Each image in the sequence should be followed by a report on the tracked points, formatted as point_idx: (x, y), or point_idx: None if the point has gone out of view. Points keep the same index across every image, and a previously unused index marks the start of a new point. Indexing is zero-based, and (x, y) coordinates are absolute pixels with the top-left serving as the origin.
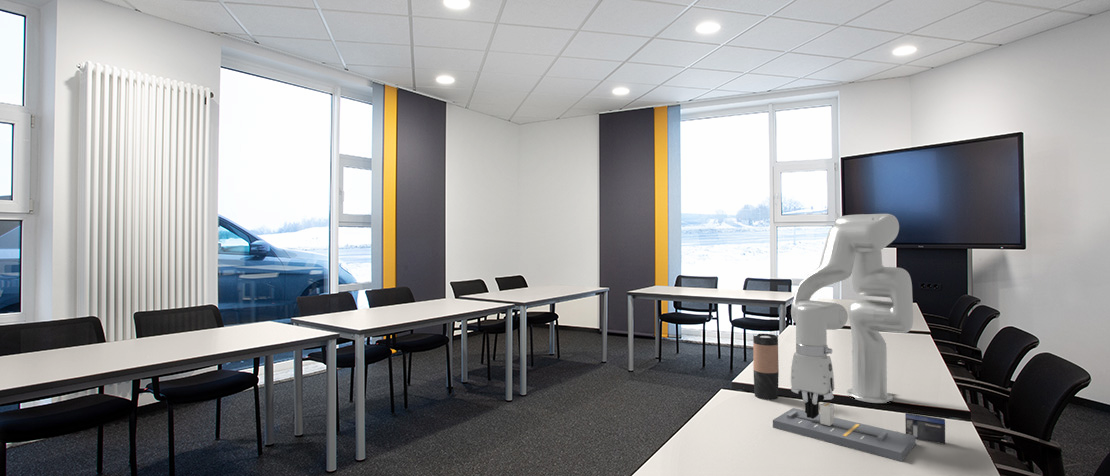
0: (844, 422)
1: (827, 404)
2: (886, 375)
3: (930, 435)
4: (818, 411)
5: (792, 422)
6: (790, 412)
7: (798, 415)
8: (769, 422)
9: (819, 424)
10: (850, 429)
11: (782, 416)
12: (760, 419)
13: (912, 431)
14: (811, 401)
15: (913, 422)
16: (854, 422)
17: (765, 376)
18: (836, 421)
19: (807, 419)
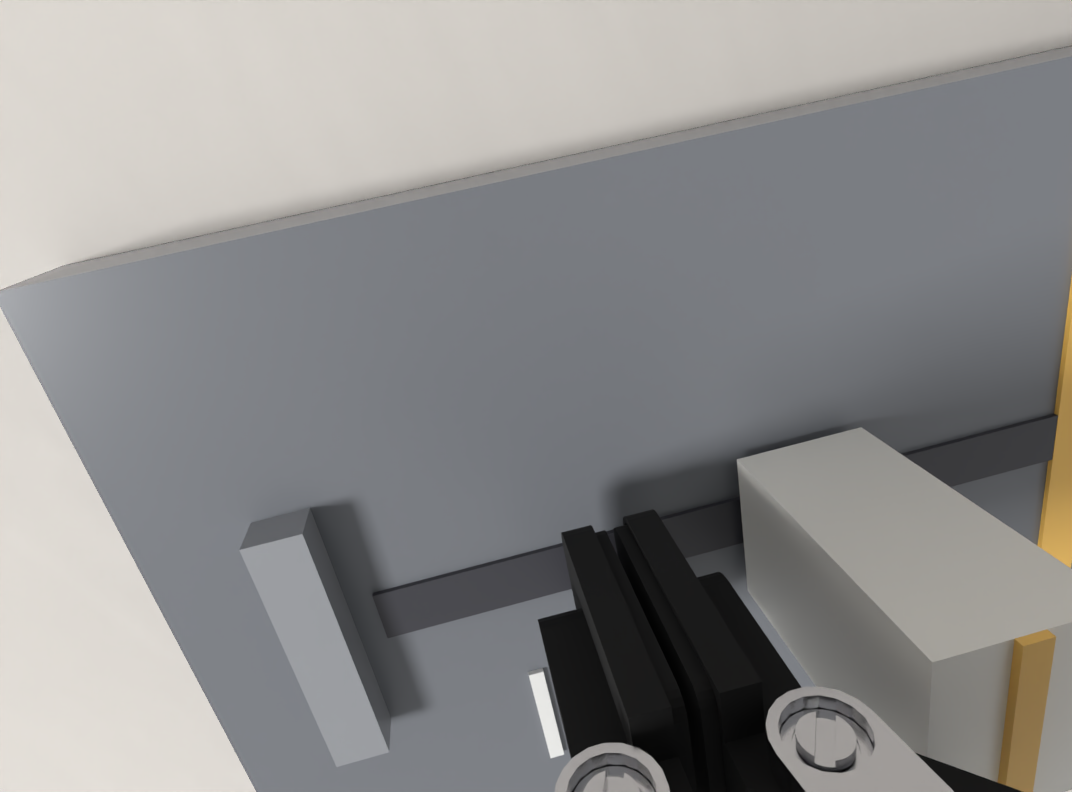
0: (936, 227)
1: (1040, 741)
2: None
3: None
4: (737, 602)
5: (495, 783)
6: (191, 537)
7: (359, 542)
8: (186, 753)
9: (732, 586)
10: (1063, 433)
11: (277, 746)
12: (48, 773)
13: None
14: (683, 779)
15: None
16: (1050, 85)
17: None
18: (839, 291)
19: (550, 583)
